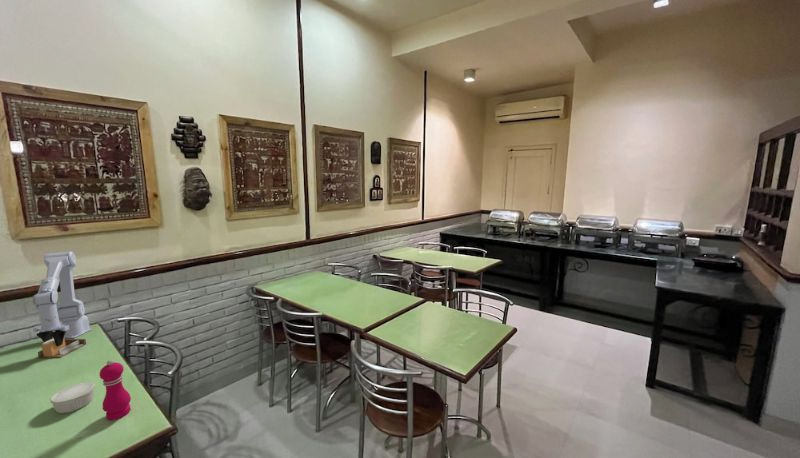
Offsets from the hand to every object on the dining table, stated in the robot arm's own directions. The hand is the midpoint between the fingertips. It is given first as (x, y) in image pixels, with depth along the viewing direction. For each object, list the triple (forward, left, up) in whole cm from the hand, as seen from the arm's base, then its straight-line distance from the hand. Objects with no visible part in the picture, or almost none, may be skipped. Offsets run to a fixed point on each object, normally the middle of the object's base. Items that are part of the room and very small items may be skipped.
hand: (54, 345), depth 148 cm
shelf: (-3, +1, -4) cm, 5 cm away
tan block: (0, 0, -4) cm, 4 cm away
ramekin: (+34, +44, -5) cm, 56 cm away
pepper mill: (+39, +64, -4) cm, 75 cm away
